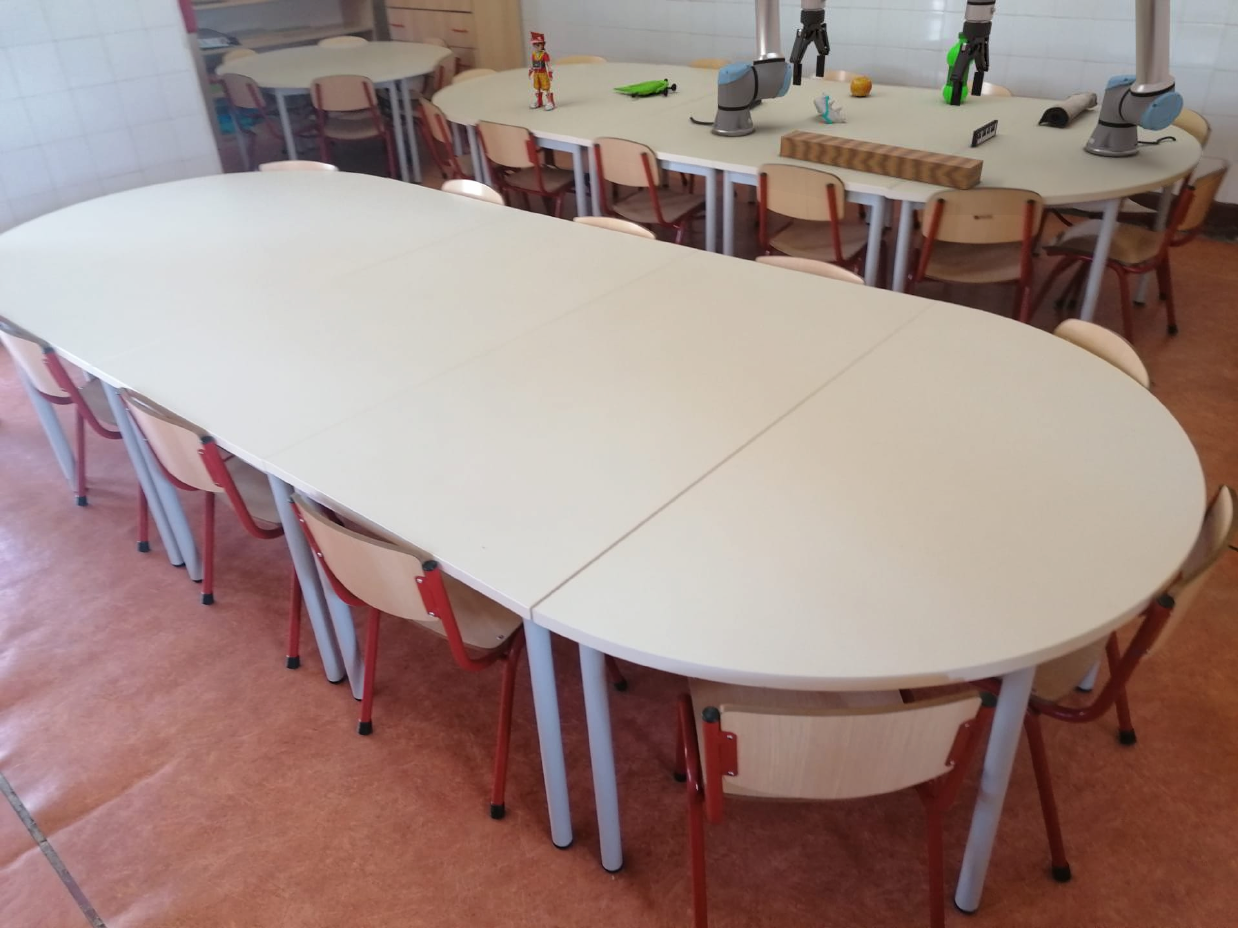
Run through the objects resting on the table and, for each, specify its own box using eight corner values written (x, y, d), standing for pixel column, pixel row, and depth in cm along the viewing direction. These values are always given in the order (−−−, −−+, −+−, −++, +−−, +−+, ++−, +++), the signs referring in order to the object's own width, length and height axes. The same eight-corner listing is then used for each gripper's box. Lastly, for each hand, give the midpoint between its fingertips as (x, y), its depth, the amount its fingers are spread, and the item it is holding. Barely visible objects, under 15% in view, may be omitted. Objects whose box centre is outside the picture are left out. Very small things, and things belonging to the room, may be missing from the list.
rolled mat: (1065, 97, 339) (1089, 80, 331) (1078, 117, 340) (1103, 101, 331) (1034, 118, 322) (1058, 101, 314) (1048, 140, 322) (1073, 123, 314)
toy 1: (525, 109, 381) (517, 32, 364) (534, 104, 388) (527, 28, 371) (550, 110, 377) (543, 32, 360) (559, 105, 384) (553, 28, 367)
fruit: (845, 88, 367) (857, 70, 364) (847, 92, 375) (859, 74, 372) (862, 99, 366) (874, 81, 363) (864, 103, 374) (876, 85, 371)
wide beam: (779, 155, 308) (780, 136, 305) (795, 149, 314) (796, 130, 310) (966, 189, 270) (969, 168, 266) (980, 181, 275) (983, 160, 272)
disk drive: (746, 111, 360) (762, 102, 370) (746, 104, 358) (762, 95, 368) (723, 109, 364) (739, 100, 374) (723, 102, 363) (739, 93, 373)
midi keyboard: (974, 147, 304) (977, 131, 301) (970, 146, 305) (973, 131, 302) (995, 135, 315) (998, 120, 312) (992, 134, 315) (994, 119, 313)
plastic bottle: (973, 101, 354) (984, 32, 339) (955, 106, 349) (966, 36, 335) (952, 97, 361) (962, 29, 346) (934, 102, 356) (944, 33, 342)
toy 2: (686, 85, 398) (631, 84, 414) (685, 72, 395) (629, 72, 411) (651, 104, 381) (596, 103, 397) (650, 92, 378) (594, 91, 394)
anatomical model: (809, 92, 345) (834, 85, 344) (812, 119, 351) (837, 112, 350) (819, 101, 333) (845, 94, 332) (822, 129, 339) (848, 122, 338)
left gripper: (801, 16, 272) (796, 90, 284) (844, 4, 287) (838, 74, 299) (780, 14, 276) (777, 87, 288) (824, 2, 291) (819, 72, 303)
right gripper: (971, 29, 241) (958, 111, 253) (1010, 14, 256) (996, 93, 268) (944, 27, 245) (933, 108, 257) (984, 13, 260) (972, 90, 272)
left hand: (808, 81), depth 294 cm, fingers open, 13 cm apart
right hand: (965, 100), depth 263 cm, fingers open, 13 cm apart
